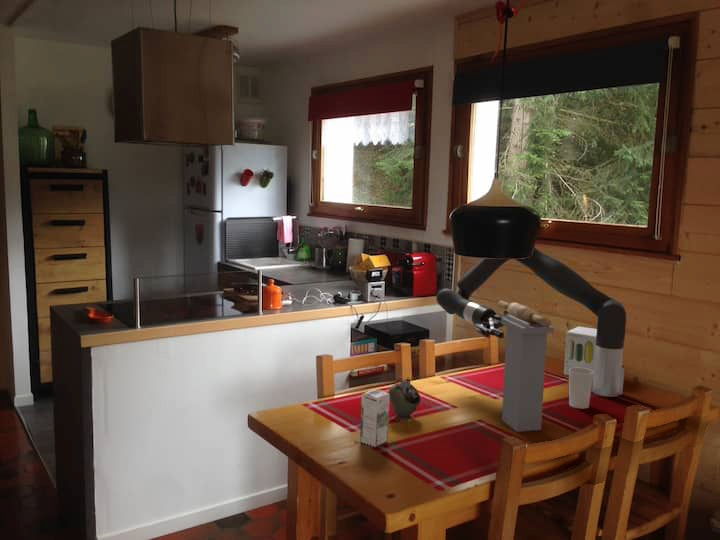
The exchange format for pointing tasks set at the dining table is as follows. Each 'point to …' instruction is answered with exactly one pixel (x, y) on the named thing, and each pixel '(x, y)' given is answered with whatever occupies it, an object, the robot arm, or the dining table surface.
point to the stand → (524, 373)
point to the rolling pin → (524, 313)
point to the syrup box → (374, 417)
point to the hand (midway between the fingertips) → (512, 330)
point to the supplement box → (580, 348)
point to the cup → (580, 387)
